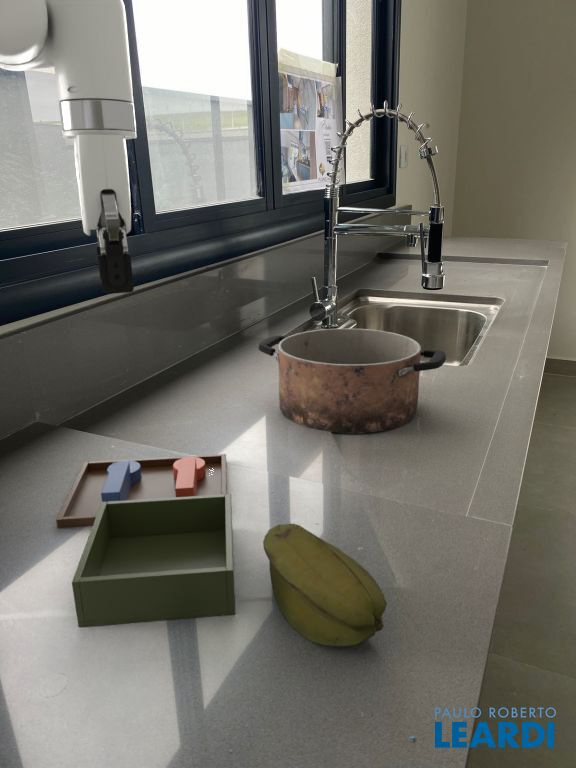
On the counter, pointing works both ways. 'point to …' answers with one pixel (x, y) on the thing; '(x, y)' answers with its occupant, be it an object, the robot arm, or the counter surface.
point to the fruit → (322, 588)
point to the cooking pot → (349, 378)
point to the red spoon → (188, 475)
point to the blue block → (120, 480)
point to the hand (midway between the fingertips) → (116, 285)
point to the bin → (157, 561)
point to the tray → (135, 486)
